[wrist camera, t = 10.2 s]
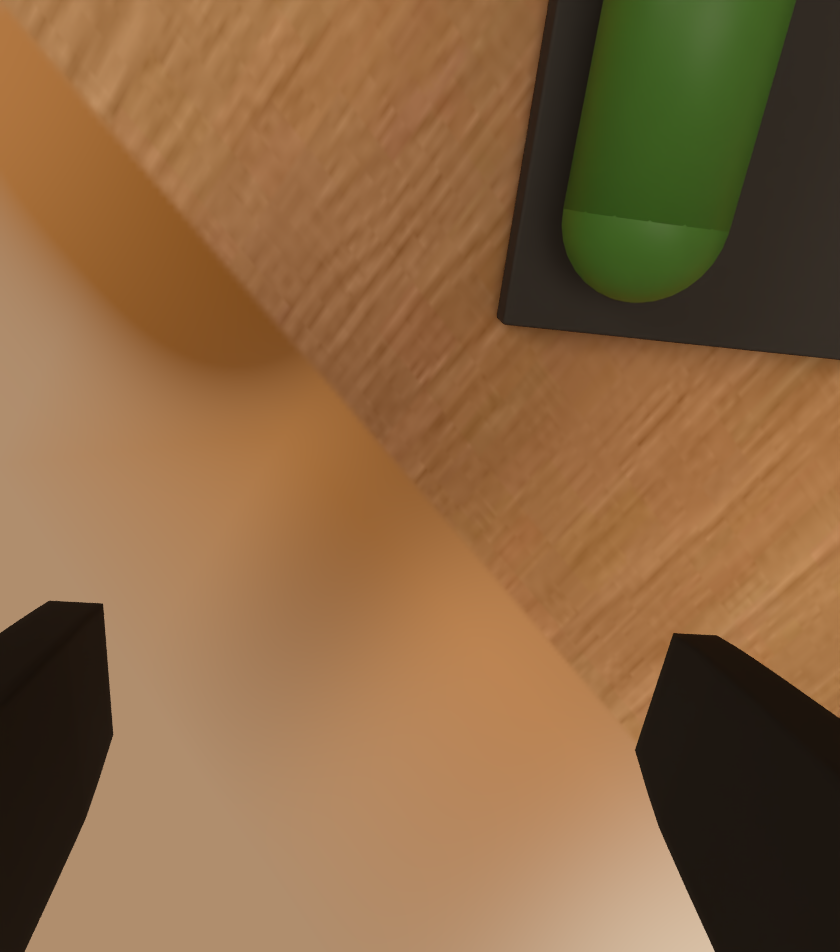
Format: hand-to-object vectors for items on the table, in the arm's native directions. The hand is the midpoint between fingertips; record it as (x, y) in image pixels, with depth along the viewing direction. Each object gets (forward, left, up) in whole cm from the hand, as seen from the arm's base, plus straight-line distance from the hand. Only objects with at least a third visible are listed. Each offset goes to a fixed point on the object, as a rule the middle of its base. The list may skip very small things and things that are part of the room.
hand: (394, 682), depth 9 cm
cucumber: (+5, +9, -7) cm, 12 cm away
